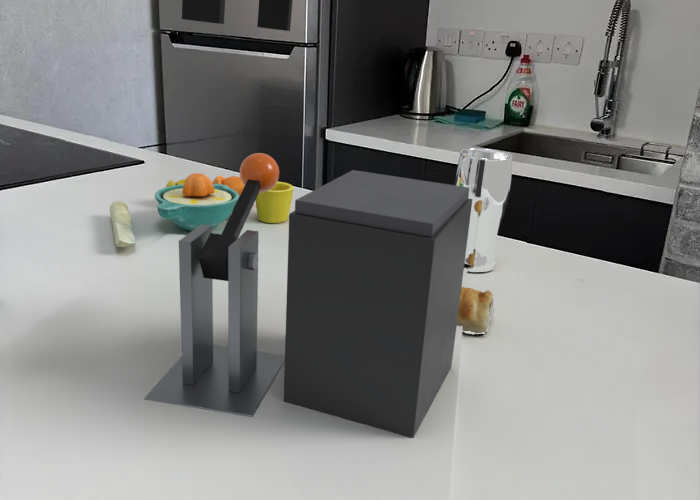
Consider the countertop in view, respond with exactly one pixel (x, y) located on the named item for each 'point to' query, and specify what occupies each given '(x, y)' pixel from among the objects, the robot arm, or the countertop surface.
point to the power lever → (238, 214)
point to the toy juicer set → (203, 204)
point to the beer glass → (484, 200)
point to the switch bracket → (197, 335)
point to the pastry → (475, 310)
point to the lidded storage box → (374, 297)
